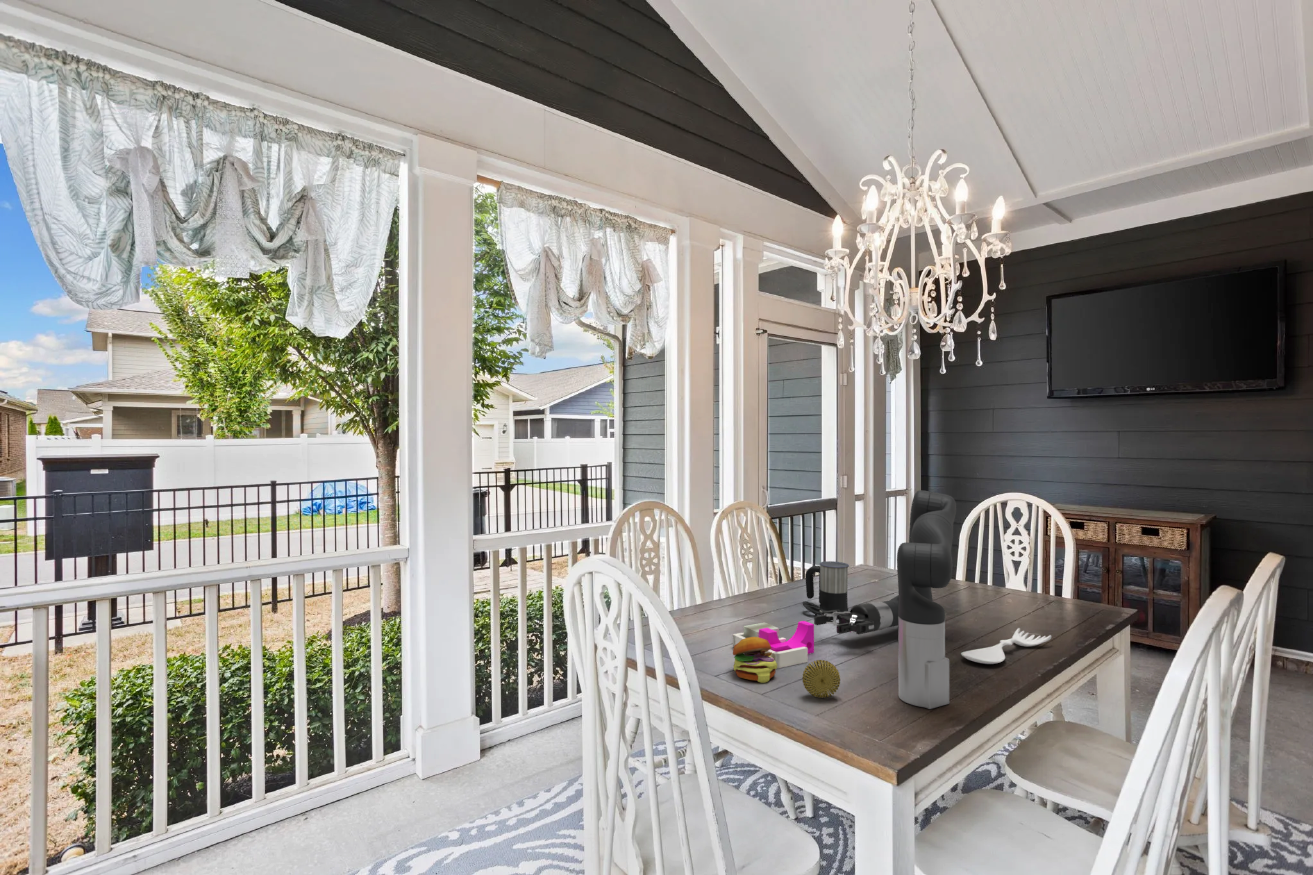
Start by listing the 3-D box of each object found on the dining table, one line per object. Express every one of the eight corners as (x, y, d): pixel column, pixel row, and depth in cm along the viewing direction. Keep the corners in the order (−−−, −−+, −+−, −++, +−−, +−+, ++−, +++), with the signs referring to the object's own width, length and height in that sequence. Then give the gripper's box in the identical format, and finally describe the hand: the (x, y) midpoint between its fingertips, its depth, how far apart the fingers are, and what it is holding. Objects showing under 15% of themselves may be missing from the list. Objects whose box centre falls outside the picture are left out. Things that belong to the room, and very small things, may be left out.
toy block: (775, 666, 160) (774, 635, 160) (759, 658, 166) (758, 629, 166) (820, 656, 168) (820, 626, 168) (804, 649, 173) (804, 620, 173)
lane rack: (807, 661, 163) (807, 647, 163) (775, 668, 158) (775, 654, 158) (763, 641, 179) (763, 628, 178) (732, 647, 174) (732, 634, 174)
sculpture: (837, 693, 143) (837, 657, 143) (842, 701, 139) (842, 663, 139) (800, 693, 143) (800, 656, 143) (804, 700, 139) (804, 663, 139)
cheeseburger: (744, 686, 147) (739, 640, 149) (727, 681, 157) (722, 637, 159) (785, 680, 150) (779, 635, 152) (765, 675, 160) (760, 633, 162)
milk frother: (848, 606, 214) (848, 561, 214) (849, 620, 199) (849, 571, 199) (804, 604, 218) (804, 559, 218) (801, 616, 203) (801, 569, 203)
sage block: (779, 651, 171) (779, 628, 171) (757, 655, 168) (757, 632, 168) (764, 644, 177) (764, 622, 177) (743, 648, 173) (743, 626, 173)
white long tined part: (1053, 647, 174) (1053, 634, 174) (989, 672, 156) (989, 658, 156) (1018, 638, 181) (1018, 626, 181) (953, 662, 163) (953, 648, 163)
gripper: (852, 597, 185) (807, 604, 178) (891, 609, 173) (845, 617, 165) (852, 624, 186) (807, 632, 178) (891, 637, 173) (845, 647, 165)
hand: (826, 625), depth 172 cm, fingers open, 8 cm apart
